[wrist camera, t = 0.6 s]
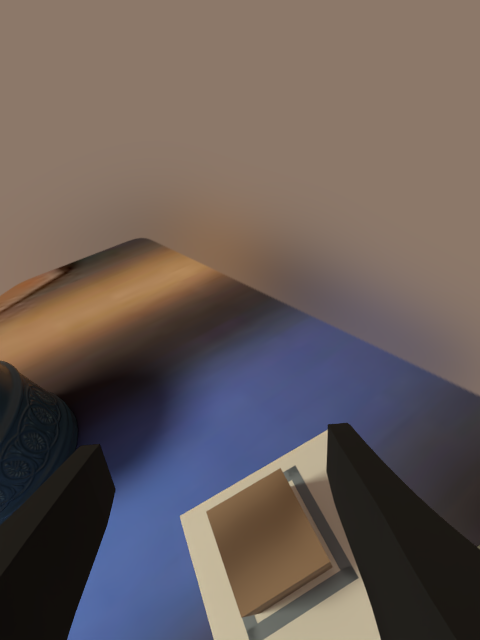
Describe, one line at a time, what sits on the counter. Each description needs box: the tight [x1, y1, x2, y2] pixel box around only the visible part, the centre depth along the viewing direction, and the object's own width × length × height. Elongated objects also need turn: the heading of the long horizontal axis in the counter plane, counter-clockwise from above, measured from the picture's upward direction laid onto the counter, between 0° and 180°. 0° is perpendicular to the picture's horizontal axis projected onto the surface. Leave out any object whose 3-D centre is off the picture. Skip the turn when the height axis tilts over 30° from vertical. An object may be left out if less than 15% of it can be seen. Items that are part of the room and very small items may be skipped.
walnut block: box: [206, 468, 332, 618], centre depth 21 cm, size 6×6×5 cm
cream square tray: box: [180, 430, 381, 640], centre depth 23 cm, size 12×14×1 cm
